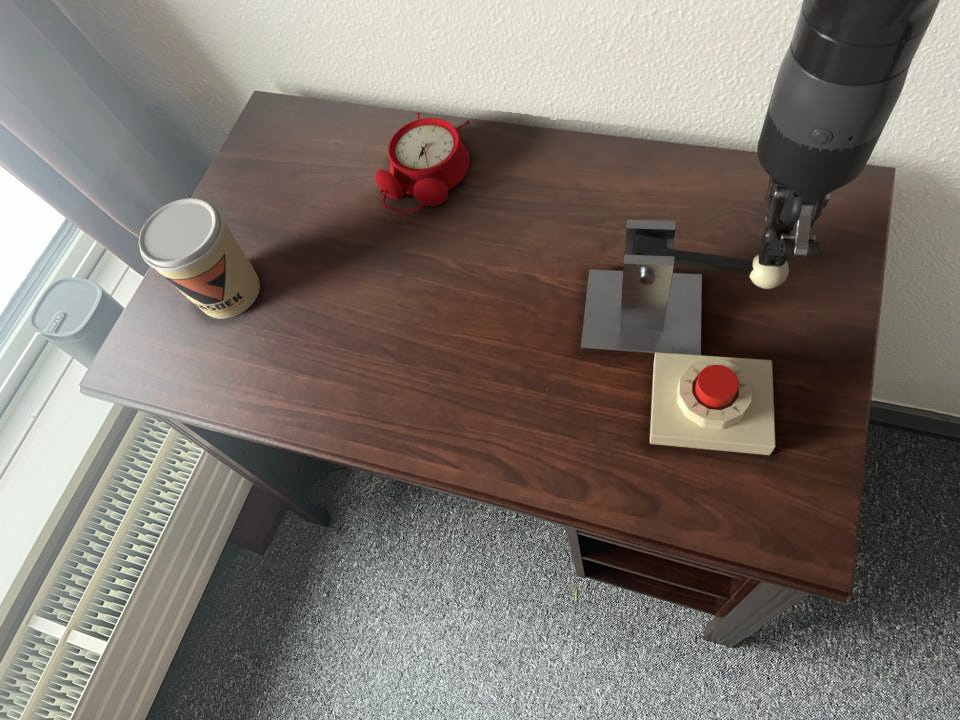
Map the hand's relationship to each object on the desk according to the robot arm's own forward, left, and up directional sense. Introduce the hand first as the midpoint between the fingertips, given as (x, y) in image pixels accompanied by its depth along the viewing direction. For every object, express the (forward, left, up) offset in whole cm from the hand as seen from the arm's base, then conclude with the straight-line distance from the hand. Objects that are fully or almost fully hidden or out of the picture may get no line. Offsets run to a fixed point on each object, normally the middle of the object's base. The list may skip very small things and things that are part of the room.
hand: (770, 258), depth 61 cm
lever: (+5, 0, -3) cm, 6 cm away
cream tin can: (+60, 0, -11) cm, 61 cm away
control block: (+4, +10, -11) cm, 15 cm away
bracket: (+11, 0, -11) cm, 15 cm away
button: (+4, +10, -7) cm, 13 cm away
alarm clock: (+39, -19, -11) cm, 44 cm away
